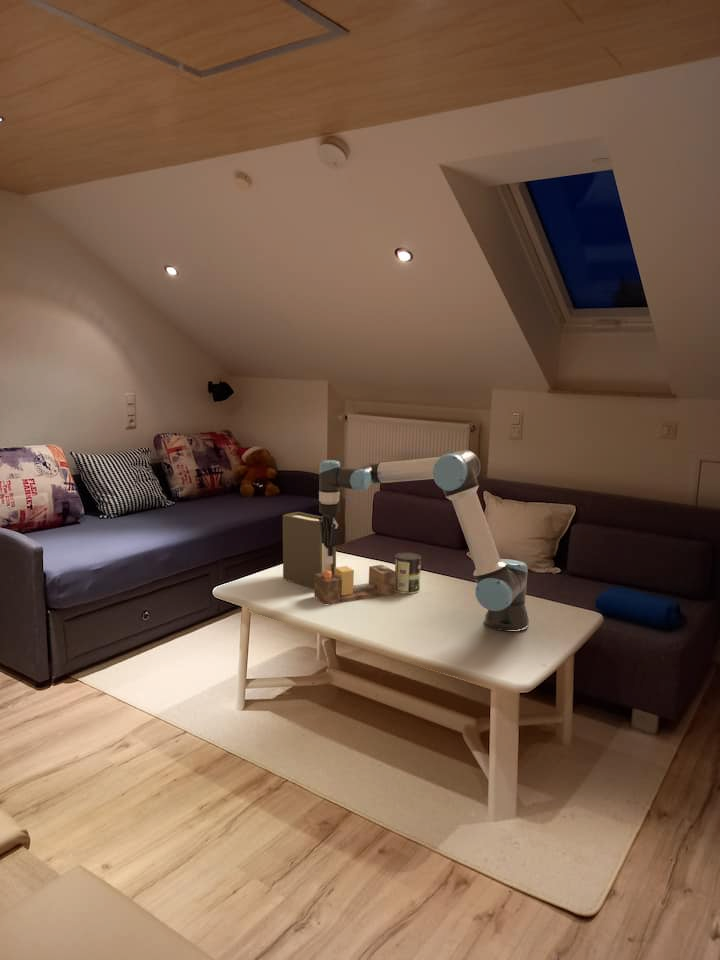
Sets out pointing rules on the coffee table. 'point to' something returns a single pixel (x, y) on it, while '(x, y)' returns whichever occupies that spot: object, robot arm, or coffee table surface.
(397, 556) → the coffee can
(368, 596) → the wooden base
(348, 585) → the carriage
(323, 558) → the book
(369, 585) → the bar
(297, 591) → the coffee table surface
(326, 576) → the orange peg
